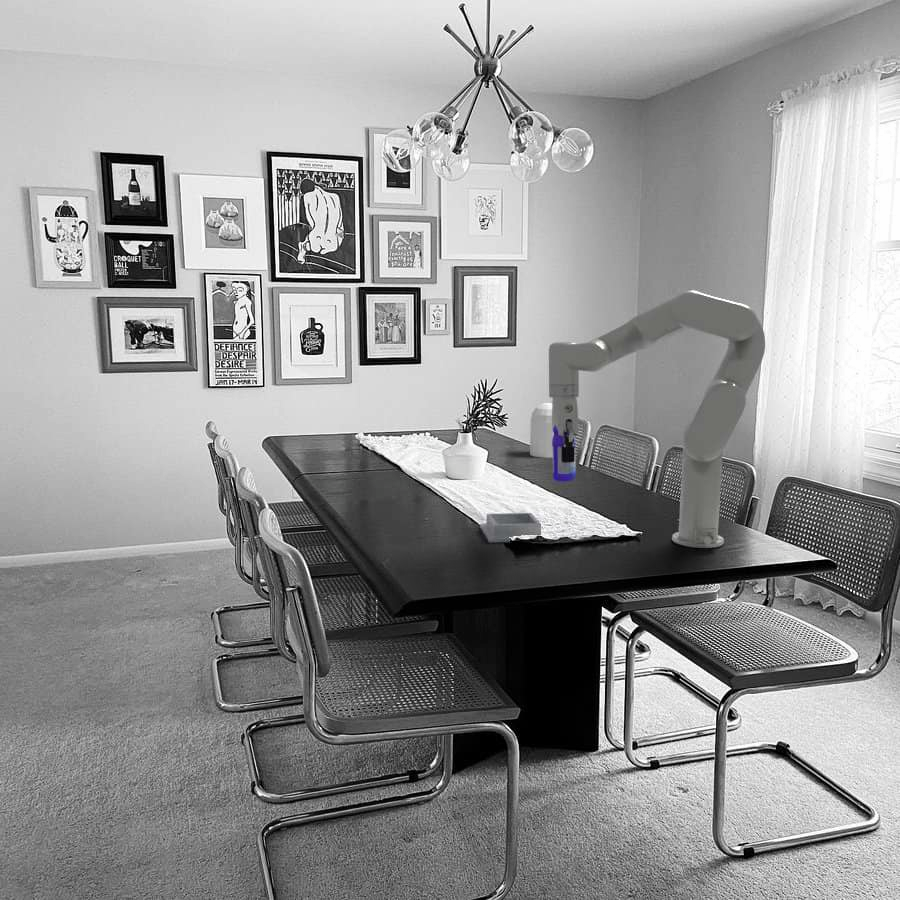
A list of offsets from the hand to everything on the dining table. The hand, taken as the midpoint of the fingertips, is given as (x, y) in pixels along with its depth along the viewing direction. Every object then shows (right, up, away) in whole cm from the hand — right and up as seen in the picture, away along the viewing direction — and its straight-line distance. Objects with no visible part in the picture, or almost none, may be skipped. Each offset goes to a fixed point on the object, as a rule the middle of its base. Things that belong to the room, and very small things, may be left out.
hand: (564, 459), depth 238 cm
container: (+8, 0, +116) cm, 116 cm away
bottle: (0, -6, +1) cm, 6 cm away
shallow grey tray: (-13, -19, +1) cm, 24 cm away
